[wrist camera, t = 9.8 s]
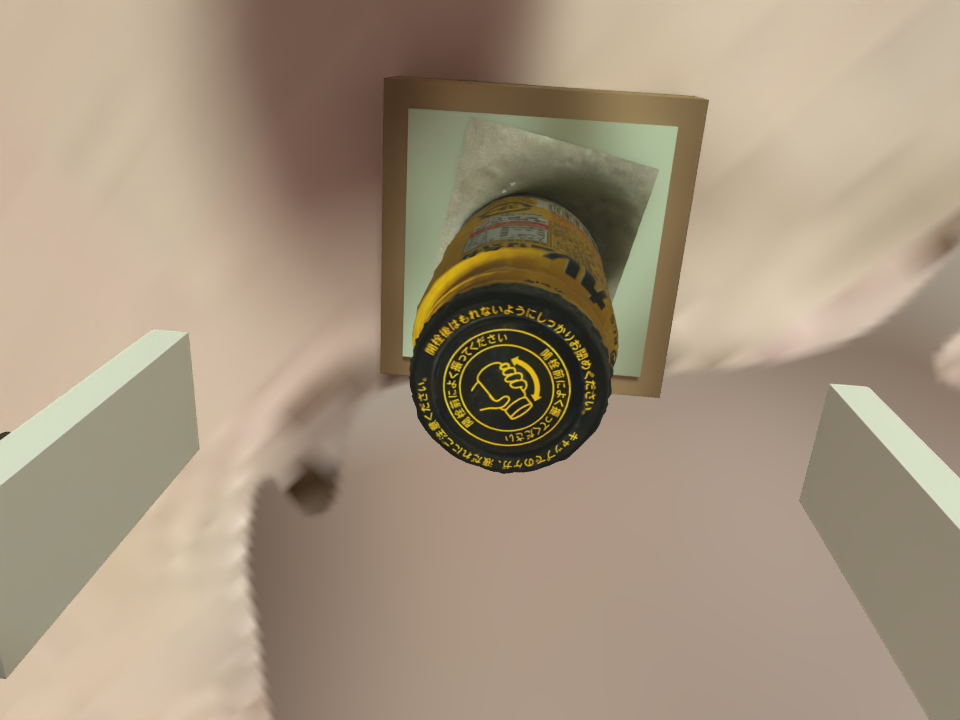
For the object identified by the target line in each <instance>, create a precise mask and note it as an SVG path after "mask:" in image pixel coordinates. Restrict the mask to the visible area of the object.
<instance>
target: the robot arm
mask: <svg viewBox="0 0 960 720" xmlns="http://www.w3.org/2000/svg"><path fill="white" fill-rule="evenodd" d="M198 450H199V439H198V428H197V417H196V407H195V396H194V385H193V374H192V363H191V353H190V342H189V332H178V331H166V330H153V329H152V330H151V331H150V332H148V333H147V334H146V335H144V336H143V337H141V338H140V339H139V340H137V341H136V342H135V343H133V344H132V345H130V346H129V347H128V348H126V349H125V350H124V351H122V352H121V353H119V354H118V355H117V356H115V357H114V358H113V359H111V360H110V361H108V362H107V363H106V364H104V365H103V366H102V367H100V368H99V369H98V370H96V371H95V372H93V373H92V374H91V375H89V376H88V377H87V378H85V379H84V380H82V381H81V382H80V383H78V384H77V385H76V386H74V387H73V388H71V389H70V390H69V391H67V392H66V393H65V394H63V395H62V396H60V397H59V398H58V399H56V400H55V401H54V402H52V403H51V404H50V405H48V406H47V407H45V408H44V409H43V410H41V411H40V412H39V413H37V414H36V415H34V416H33V417H32V418H30V419H29V420H28V421H26V422H25V423H23V424H22V425H21V426H19V427H18V428H17V429H15V430H14V431H12V432H4V433H1V434H0V678H3V679H7V677H8V676H9V675H10V674H11V673H12V671H13V670H14V669H15V668H16V667H17V665H18V664H19V663H20V662H21V661H22V660H23V658H24V657H25V656H26V655H27V654H28V652H29V651H30V650H31V649H32V648H33V646H34V645H35V644H36V643H37V642H38V640H39V639H40V638H41V637H42V636H43V635H44V633H45V632H46V631H47V630H48V629H49V627H50V626H51V625H52V624H53V623H54V621H55V620H56V619H57V618H58V617H59V616H60V614H61V613H62V612H63V611H64V610H65V608H66V607H67V606H68V605H69V604H70V602H71V601H72V600H73V599H74V598H75V596H76V595H77V594H78V593H79V592H80V591H81V589H82V588H83V587H84V586H85V585H86V583H87V582H88V581H89V580H90V579H91V577H92V576H93V575H94V574H95V573H96V571H97V570H98V569H99V568H100V567H101V566H102V564H103V563H104V562H105V561H106V560H107V558H108V557H109V556H110V555H111V554H112V552H113V551H114V550H115V549H116V548H117V546H118V545H119V544H120V543H121V542H122V541H123V539H124V538H125V537H126V536H127V535H128V533H129V532H130V531H131V530H132V529H133V527H134V526H135V525H136V524H137V523H138V521H139V520H140V519H141V518H142V517H143V516H144V514H145V513H146V512H147V511H148V510H149V508H150V507H151V506H152V505H153V504H154V502H155V501H156V500H157V499H158V498H159V496H160V495H161V494H162V493H163V492H164V491H165V489H166V488H167V487H168V486H169V485H170V483H171V482H172V481H173V480H174V479H175V477H176V476H177V475H178V474H179V473H180V472H181V470H182V469H183V468H184V467H185V466H186V464H187V463H188V462H189V461H190V460H191V458H192V457H193V456H194V455H195V454H196V452H197V451H198ZM799 501H800V503H801V504H802V506H803V508H804V509H805V511H806V513H807V514H808V516H809V518H810V520H811V521H812V523H813V524H814V526H815V528H816V530H817V531H818V533H819V534H820V536H821V538H822V540H823V541H824V543H825V545H826V547H827V548H828V550H829V552H830V553H831V555H832V557H833V558H834V560H835V562H836V563H837V565H838V567H839V568H840V570H841V572H842V573H843V575H844V577H845V578H846V580H847V582H848V584H849V585H850V587H851V589H852V590H853V592H854V594H855V595H856V597H857V599H858V600H859V602H860V603H861V606H862V607H863V609H864V610H865V612H866V614H867V615H868V617H869V619H870V621H871V622H872V624H873V626H874V627H875V629H876V631H877V633H878V634H879V636H880V638H881V639H882V641H883V643H884V644H885V646H886V648H887V649H888V651H889V653H890V654H891V656H892V658H893V659H894V661H895V663H896V664H897V666H898V668H899V670H900V671H901V673H902V675H903V676H904V678H905V680H906V681H907V683H908V684H909V686H910V688H911V690H912V692H913V693H914V695H915V697H916V698H917V700H918V702H919V703H920V705H921V707H922V708H923V710H924V712H925V713H926V715H927V717H928V719H929V720H960V478H959V477H958V476H957V475H956V474H955V473H954V472H953V471H952V470H951V469H950V468H949V467H948V466H947V465H946V464H945V463H944V462H943V461H942V460H941V459H940V458H939V457H938V456H937V455H936V454H935V453H934V452H933V451H932V450H931V449H930V448H929V447H928V446H927V445H926V444H925V443H924V442H923V441H922V440H921V439H920V438H919V437H918V436H917V435H916V434H915V433H914V432H913V431H912V430H911V429H910V428H909V427H908V426H907V425H906V424H905V423H904V422H903V421H902V420H901V419H900V418H899V417H898V416H897V415H896V414H895V413H894V412H893V411H892V410H891V409H890V408H889V407H888V406H887V405H886V404H885V403H884V402H883V401H882V400H881V399H880V398H879V397H878V396H877V395H876V394H875V393H874V392H873V391H872V390H871V389H870V388H869V387H863V386H851V385H839V384H829V388H828V392H827V396H826V399H825V403H824V407H823V411H822V415H821V419H820V423H819V426H818V430H817V434H816V438H815V442H814V446H813V450H812V454H811V457H810V461H809V465H808V469H807V473H806V477H805V481H804V484H803V488H802V492H801V496H800V500H799Z"/></svg>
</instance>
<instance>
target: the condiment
mask: <svg viewBox="0 0 960 720" xmlns="http://www.w3.org/2000/svg"><path fill="white" fill-rule="evenodd" d="M658 172H659V169H656V168H653V167H650V166H646V165H643V164H638V163H636V162H633V161H629V160H626V159H622V158H619V157H615V156H612V155H608V154H605V153H600V152H597V151H595V150H591V149H587V148H584V147H580V146H577V145H573V144H570V143H566V142H563V141H559V140H556V139H553V138H549V137H546V136H542V135H538V134H534V133H530V132H527V131H523V130H520V129H517V128H513V127H510V126H506V125H502V124H499V123H495V122H492V121H488V120H484V119H481V118H477V117H474V116H470V120H469V125H468V129H467V133H466V136H465V141H464V145H463V149H462V153H461V157H460V161H459V165H458V169H457V173H456V178H455V182H454V186H453V190H452V193H451V197H450V202H449V206H448V210H447V214H446V218H445V223H444V227H443V231H442V235H441V239H440V243H439V247H438V251H437V255H436V259H435V263H434V267H433V271H432V276H431V280H430V283H429V285H428V287H427V289H426V291H425V293H424V295H423V297H422V299H421V301H420V303H419V304H418V306H417V314H416V318H415V322H414V326H413V333H412V337H413V357H412V358H411V360H410V368H409V372H410V377H409V379H410V388H411V392H412V394H413V395H412V397H413V401H414V403H415V405H416V408H417V416H418V419H419V420H420V422H421V424H422V425H423V427H424V428H425V430H426V431H427V432H428V434H429V435H430V436H431V437H432V438H433V439H434V440H435V441H436V442H437V443H438V444H440V445H441V446H442V447H443V448H444V449H445V450H446V451H448V452H449V453H450V454H452V455H453V456H455V457H456V458H458V459H460V460H462V461H464V462H466V463H469V464H472V465H476V466H480V467H482V468H484V469H487V470H490V471H493V472H500V473H503V474H505V473H513V472H529V471H534V470H538V469H540V468H543V467H546V466H549V465H551V464H553V463H556V462H558V461H562V460H565V459H567V458H568V457H570V456H571V455H572V454H573V453H574V452H575V451H576V450H577V449H578V448H579V447H580V446H581V445H582V444H583V443H584V442H585V441H586V440H587V439H588V438H589V437H590V436H591V435H592V434H593V433H594V432H595V431H596V430H597V428H598V426H599V424H600V422H601V419H602V417H603V415H604V414H605V412H606V408H607V405H608V398H609V396H610V395H611V394H612V387H611V378H612V376H613V372H614V370H613V367H614V365H615V363H616V358H617V355H618V347H619V345H618V329H617V324H616V319H615V315H614V310H613V306H612V302H613V299H614V297H615V294H616V291H617V288H618V285H619V282H620V280H621V277H622V274H623V272H624V268H625V266H626V263H627V261H628V258H629V255H630V251H631V249H632V246H633V243H634V240H635V237H636V235H637V232H638V229H639V226H640V223H641V221H642V217H643V214H644V211H645V209H646V206H647V203H648V201H649V198H650V196H651V193H652V190H653V187H654V184H655V181H656V178H657V175H658ZM514 182H516V183H515V184H514V185H513V186H511V184H510V183H514ZM503 190H506V192H504V193H502V192H503Z"/></svg>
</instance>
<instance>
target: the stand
mask: <svg viewBox="0 0 960 720" xmlns="http://www.w3.org/2000/svg"><path fill="white" fill-rule="evenodd" d="M708 102H709V100H707V99H703V98H699V97H695V96H684V95H669V94H654V93H640V92H625V91H610V90H595V89H580V88H565V87H550V86H536V85H521V84H506V83H491V82H476V81H461V80H447V79H432V78H417V77H402V76H397V77H389V78H384V120H383V204H382V287H381V371H380V373H384V374H395V375H407V376H410V372H409V368H410V360H411V358H412V357H413V337H412V333H413V326H414V322H415V318H416V314H417V306H418V304H419V303H420V301H421V299H422V297H423V295H424V293H425V291H426V289H427V287H428V285H429V283H430V280H431V276H432V271H433V267H434V263H435V259H436V255H437V251H438V247H439V243H440V239H441V235H442V231H443V227H444V223H445V218H446V214H447V210H448V206H449V202H450V197H451V193H452V190H453V186H454V182H455V178H456V173H457V169H458V165H459V161H460V157H461V153H462V149H463V145H464V141H465V136H466V133H467V129H468V125H469V120H470V116H474V117H477V118H481V119H484V120H488V121H492V122H495V123H499V124H502V125H506V126H510V127H513V128H517V129H520V130H523V131H527V132H530V133H534V134H538V135H542V136H546V137H549V138H553V139H556V140H559V141H563V142H566V143H570V144H573V145H577V146H580V147H584V148H587V149H591V150H595V151H597V152H600V153H605V154H608V155H612V156H615V157H619V158H622V159H626V160H629V161H633V162H636V163H638V164H643V165H646V166H650V167H653V168H656V169H659V172H658V175H657V178H656V181H655V184H654V187H653V190H652V193H651V196H650V198H649V201H648V203H647V206H646V209H645V211H644V214H643V217H642V221H641V223H640V226H639V229H638V232H637V235H636V237H635V240H634V243H633V246H632V249H631V251H630V255H629V258H628V261H627V263H626V266H625V268H624V272H623V274H622V277H621V280H620V282H619V285H618V288H617V291H616V294H615V297H614V299H613V302H612V306H613V310H614V315H615V319H616V324H617V329H618V345H619V347H618V355H617V358H616V363H615V365H614V367H613V370H614V372H613V376H612V378H611V387H612V394H622V395H633V396H644V397H655V398H660V393H661V387H662V381H663V375H664V369H665V362H666V356H667V350H668V344H669V338H670V332H671V326H672V320H673V314H674V308H675V302H676V296H677V290H678V284H679V278H680V272H681V266H682V260H683V253H684V247H685V241H686V235H687V229H688V223H689V217H690V211H691V205H692V199H693V193H694V187H695V181H696V175H697V169H698V163H699V157H700V151H701V144H702V138H703V132H704V126H705V120H706V114H707V108H708ZM515 183H516V182H514V183H510V184H511V186H513V185H514V184H515ZM504 192H506V190H503V192H502V193H504Z"/></svg>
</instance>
